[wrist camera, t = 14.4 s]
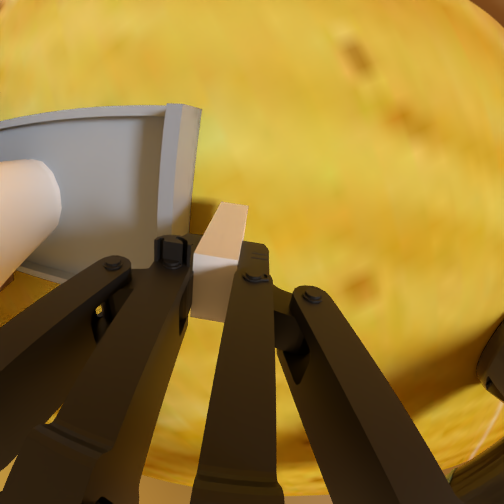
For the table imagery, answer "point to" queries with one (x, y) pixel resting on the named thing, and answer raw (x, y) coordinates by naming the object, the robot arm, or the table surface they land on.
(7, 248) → the foam cup
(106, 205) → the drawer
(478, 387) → the table surface
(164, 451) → the table surface
